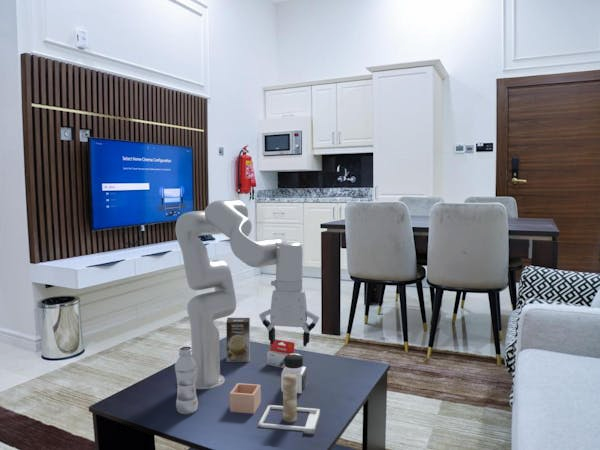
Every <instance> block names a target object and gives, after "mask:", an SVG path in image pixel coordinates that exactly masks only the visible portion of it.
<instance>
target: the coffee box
mask: <svg viewBox="0 0 600 450" xmlns="http://www.w3.org/2000/svg"><path fill="white" fill-rule="evenodd" d="M250 323H251V318H250V317H227V319H226V323H225V324H226V362H227V363H247V362H248V363H249V362H250V358H251V336H250V334H251V324H250Z"/></svg>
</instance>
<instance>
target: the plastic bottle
mask: <svg viewBox="0 0 600 450" xmlns="http://www.w3.org/2000/svg"><path fill="white" fill-rule="evenodd" d="M178 351H179V352H178V356H179V357H178V358H177V360H176V361H175V364H174V372H175V377H176V383H177V384H176V385H177V386H176V387H177V390H176V391H177V393H176V395H177V396H176V400H175V408H176V411H177V413H179V414H180V415H191V414H193V413H195V412H196V411H197V410H198V408H199V400H198V395H197V389H196V387H195V379H196V368H197V364H196V361H195V360H194V358H193V357H192V346H181V347H179V349H178Z"/></svg>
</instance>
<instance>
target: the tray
mask: <svg viewBox="0 0 600 450" xmlns="http://www.w3.org/2000/svg"><path fill="white" fill-rule="evenodd" d="M271 410H282V411H283V405H273V404H268V405H267V407H266V408H265V411H264V413H263V415H262V416H261V418H260V420H259V422H258V424H257V425H258V427H259V428H267V429H269V428H270V429H280V430H291V431H301V432H302V434H306V435H307V434H308V435H315V432H316V430H317V425H318V423H319V420H320V416H321V408H313V407H301V406H300V407H298V406H297V412H305V413H306V412H309V413H308V416H307V420H306V423H305V426H299V425H288V424H287V425H286V424H275V423H264V422H265V420H266V418H267V416H268V414H269V413H270V411H271Z"/></svg>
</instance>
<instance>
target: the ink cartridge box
mask: <svg viewBox="0 0 600 450" xmlns="http://www.w3.org/2000/svg"><path fill="white" fill-rule="evenodd" d="M280 343H282V344H284V345H282V344H280ZM295 345H296V344H295V342H294V341H293V342H292V341H286V340H282V339H276V338H275V342H274V343H273V344H269V350H268V351H266V363H267V365H268V366H273V367H278V368H282V369H284V368H285V356H286V355H289V354H295Z"/></svg>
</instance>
